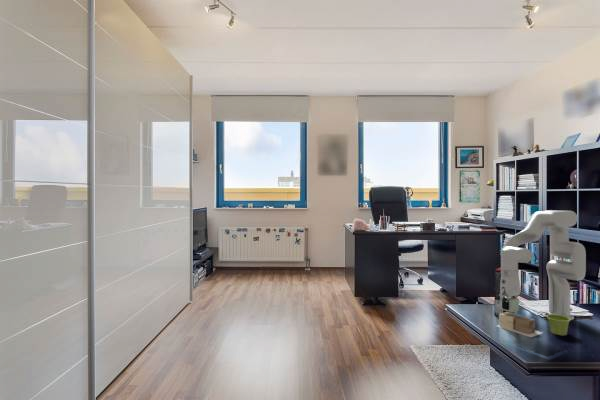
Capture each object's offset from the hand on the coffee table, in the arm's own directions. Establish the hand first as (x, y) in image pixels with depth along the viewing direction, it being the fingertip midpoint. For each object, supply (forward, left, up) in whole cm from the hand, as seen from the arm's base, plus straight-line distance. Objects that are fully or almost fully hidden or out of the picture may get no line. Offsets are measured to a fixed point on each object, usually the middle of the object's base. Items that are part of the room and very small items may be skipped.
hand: (509, 308), depth 177 cm
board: (0, +5, -11) cm, 11 cm away
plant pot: (-12, +16, -11) cm, 23 cm away
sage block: (0, 0, -1) cm, 1 cm away
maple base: (0, 0, -9) cm, 9 cm away
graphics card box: (-18, -13, -11) cm, 25 cm away
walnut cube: (0, +8, -9) cm, 12 cm away
